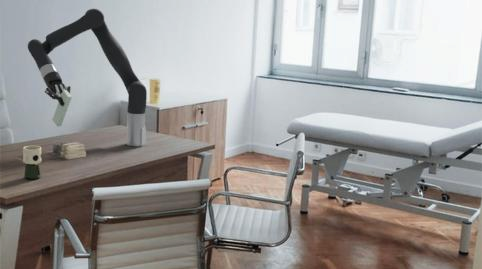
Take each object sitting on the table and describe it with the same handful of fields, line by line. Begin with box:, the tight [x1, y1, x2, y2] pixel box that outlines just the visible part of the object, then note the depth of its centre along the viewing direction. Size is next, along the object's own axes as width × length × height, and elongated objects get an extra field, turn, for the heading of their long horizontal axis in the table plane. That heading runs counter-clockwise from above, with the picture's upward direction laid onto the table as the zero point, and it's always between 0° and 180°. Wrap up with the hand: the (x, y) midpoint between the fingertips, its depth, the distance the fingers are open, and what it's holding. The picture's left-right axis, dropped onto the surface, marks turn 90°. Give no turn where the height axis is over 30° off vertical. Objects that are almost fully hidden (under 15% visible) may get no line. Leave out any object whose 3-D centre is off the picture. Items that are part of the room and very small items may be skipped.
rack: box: [45, 141, 88, 161], centre depth 278 cm, size 18×12×7 cm, turn 50°
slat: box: [52, 89, 73, 127], centre depth 277 cm, size 5×2×18 cm
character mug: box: [22, 145, 42, 180], centre depth 241 cm, size 11×7×13 cm, turn 162°
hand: (65, 104), depth 275 cm, fingers closed on slat, 1 cm apart
